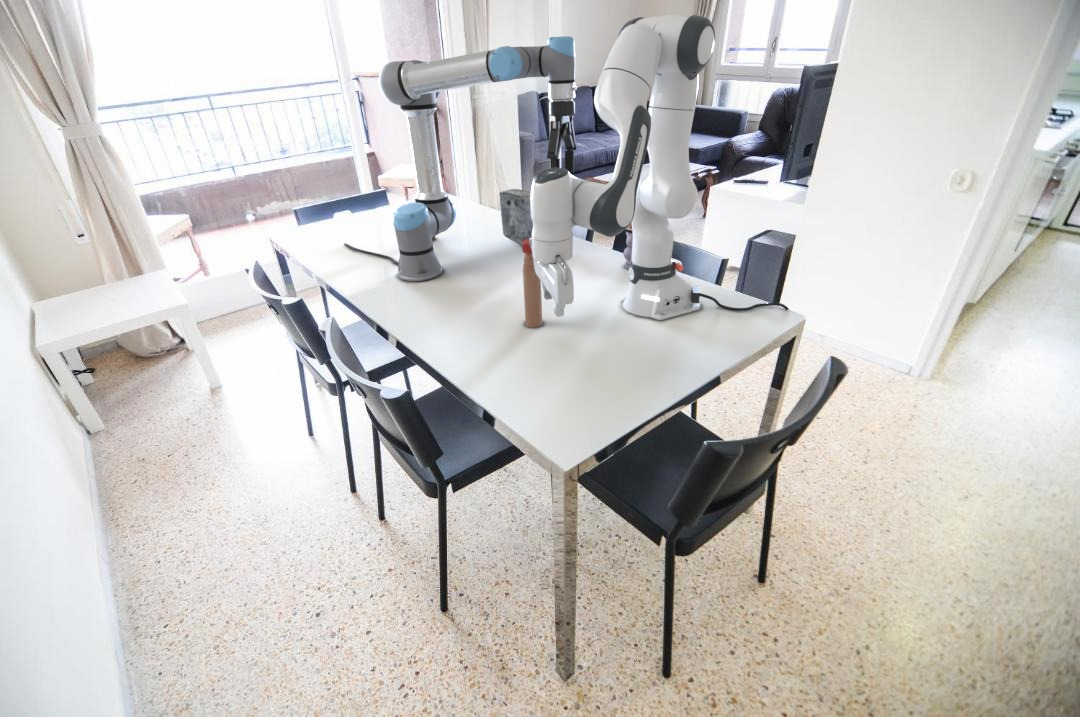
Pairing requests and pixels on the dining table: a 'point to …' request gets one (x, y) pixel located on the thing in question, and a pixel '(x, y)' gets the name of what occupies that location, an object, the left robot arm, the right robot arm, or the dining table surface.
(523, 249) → the cap
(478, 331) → the dining table surface
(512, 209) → the concrete block
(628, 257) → the cat figurine
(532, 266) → the bottle
